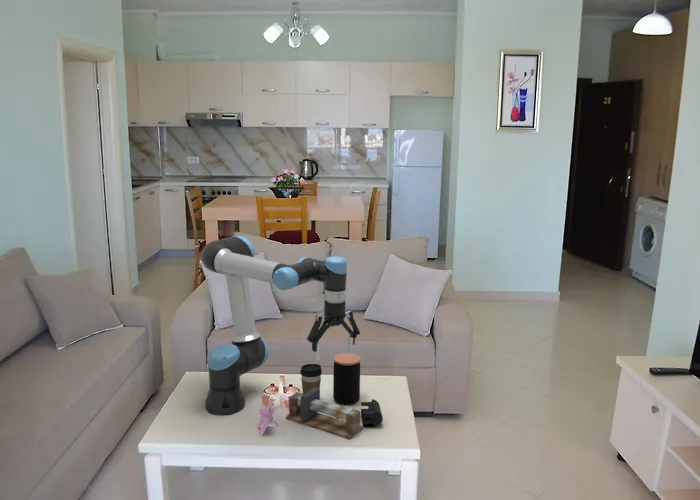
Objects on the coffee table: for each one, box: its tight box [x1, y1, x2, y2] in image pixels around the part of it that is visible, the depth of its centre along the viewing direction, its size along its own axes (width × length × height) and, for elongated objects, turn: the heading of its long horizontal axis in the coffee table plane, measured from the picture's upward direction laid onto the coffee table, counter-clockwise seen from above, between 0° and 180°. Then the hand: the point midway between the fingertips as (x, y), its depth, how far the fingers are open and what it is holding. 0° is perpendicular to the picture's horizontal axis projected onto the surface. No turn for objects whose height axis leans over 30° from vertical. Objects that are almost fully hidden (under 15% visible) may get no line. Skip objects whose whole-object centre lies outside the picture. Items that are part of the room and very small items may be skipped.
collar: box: [301, 387, 321, 420], centre depth 224 cm, size 2×9×9 cm, turn 149°
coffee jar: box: [332, 352, 361, 406], centre depth 240 cm, size 11×11×18 cm
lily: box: [256, 400, 280, 437], centre depth 218 cm, size 12×12×10 cm
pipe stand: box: [285, 391, 364, 441], centre depth 222 cm, size 28×9×8 cm, turn 59°
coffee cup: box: [299, 363, 323, 394], centre depth 238 cm, size 8×8×15 cm
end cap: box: [360, 399, 384, 429], centre depth 224 cm, size 10×7×7 cm
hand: (333, 356), depth 218 cm, fingers open, 13 cm apart
